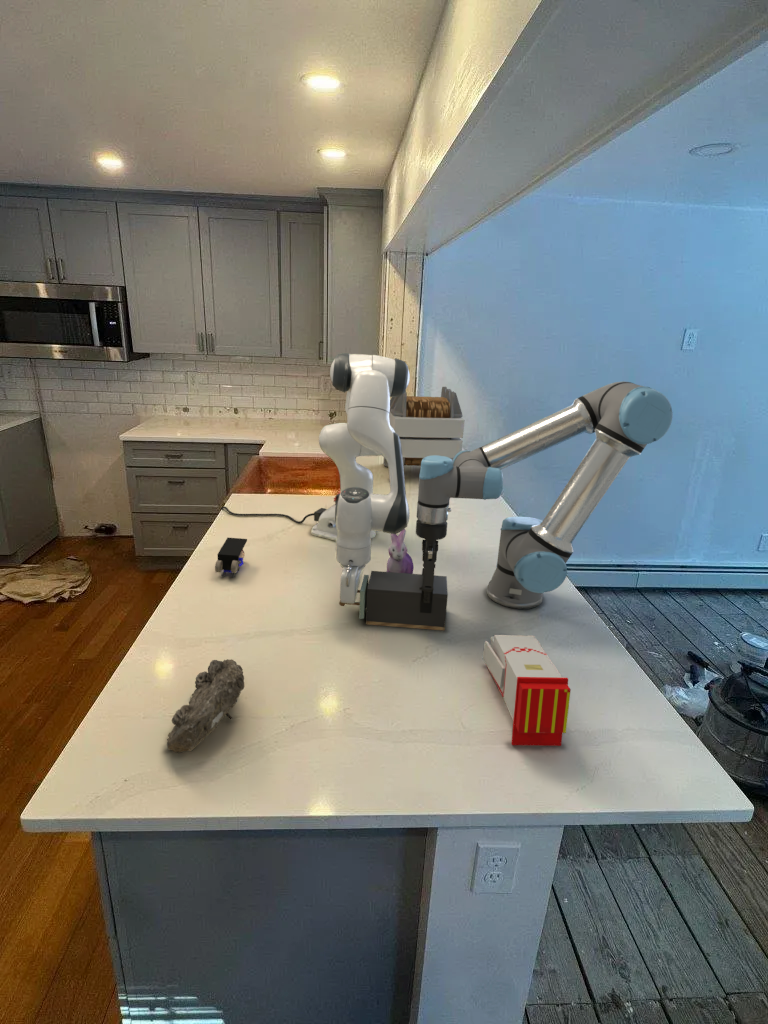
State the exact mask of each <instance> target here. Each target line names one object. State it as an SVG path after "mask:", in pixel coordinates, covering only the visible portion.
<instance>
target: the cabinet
mask: <svg viewBox="0 0 768 1024" xmlns="http://www.w3.org/2000/svg"><path fill="white" fill-rule="evenodd" d="M422 586H423V575H422V573H421V574H420V573H413V574H409V573H395V572H387V571H381V570H380V571H379V570H371V571H370V575H369V582H368V588H367V608H366V612H365V625H370V626H384V627H397V628H408V629H421V630H424V629H425V630H436V631H446V630H445V629H446V620H447V619H446V618H447V609H448V608H447V607H448V596H449V594H448V577H447V575H435V574H434V582H433V588H434V590H433V596H432V609H431V613H420V606H421V593H422V590H419V587H422Z"/></svg>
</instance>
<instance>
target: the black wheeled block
mask: <svg viewBox="0 0 768 1024" xmlns="http://www.w3.org/2000/svg"><path fill="white" fill-rule="evenodd" d="M247 542H248V538H240V537H226V539H225V541H224V543H223V544H222V546H221V547H220V549H219V551H218V552H217V560H216V562H215V564H214V572H215V573H221V577H222V578H224V577H225V576H226V574H227V573H230V574H231V573H232V574H231V578H234V577H235V575H236V573H237V572H239V571H240V567H242V566H243V565H244V564H245V562H244V558H245V551H244V547H245V546H246V544H247Z"/></svg>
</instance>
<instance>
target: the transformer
mask: <svg viewBox="0 0 768 1024" xmlns="http://www.w3.org/2000/svg"><path fill="white" fill-rule="evenodd" d="M440 393H441V394H440V396H415V395H414V396H413V395H412V396H411V395H407V394H408V393H407V389H406V390H405V393H403V394H402V395H401V396H397V397H390V414H389V421H390V425H391V427H392V428H393V429H394V431H395V433H396V434H398V436H399V438H400V442H401V449H402V458H403V468H404V469H405V466H406V467H407V466H411V467H412V466H413V467H415V466H416V467H417V466H418V467H421V461H422V459H423V458H425V457H427V456H433V455H437V456H445V457H448V458H450V459H452V460H453V458H454V456H455V455H456V454H457V453H459V452H460V451H463V442H464V441H463V440H462V439H463V438H464V431H465V430H464V429H465V419H464V418H463V411H462V408H461V405H460V402H459V398H458V395H457V392H455V391H453V390H452V389H451V388H447V386H442V387H441V392H440ZM383 466H384V467H388V463H387V460H386V459H385V458H384V457H383Z"/></svg>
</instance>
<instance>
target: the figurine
mask: <svg viewBox="0 0 768 1024" xmlns="http://www.w3.org/2000/svg"><path fill="white" fill-rule="evenodd" d="M406 534H407V530H406V528H405V529H404V530H402V531H401V532H399V533H398V534H391V533H390V544H389V546H388V549H387V551H388V552H387V553H388V555H389V557H388V559H387V560H386V561H387V562H386V572H395V573H409V574H414V570H415V569H414V562H413V559H412V556H411V555H410V554H409V553H408V548H407V544H406V543H405V539H406Z"/></svg>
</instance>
